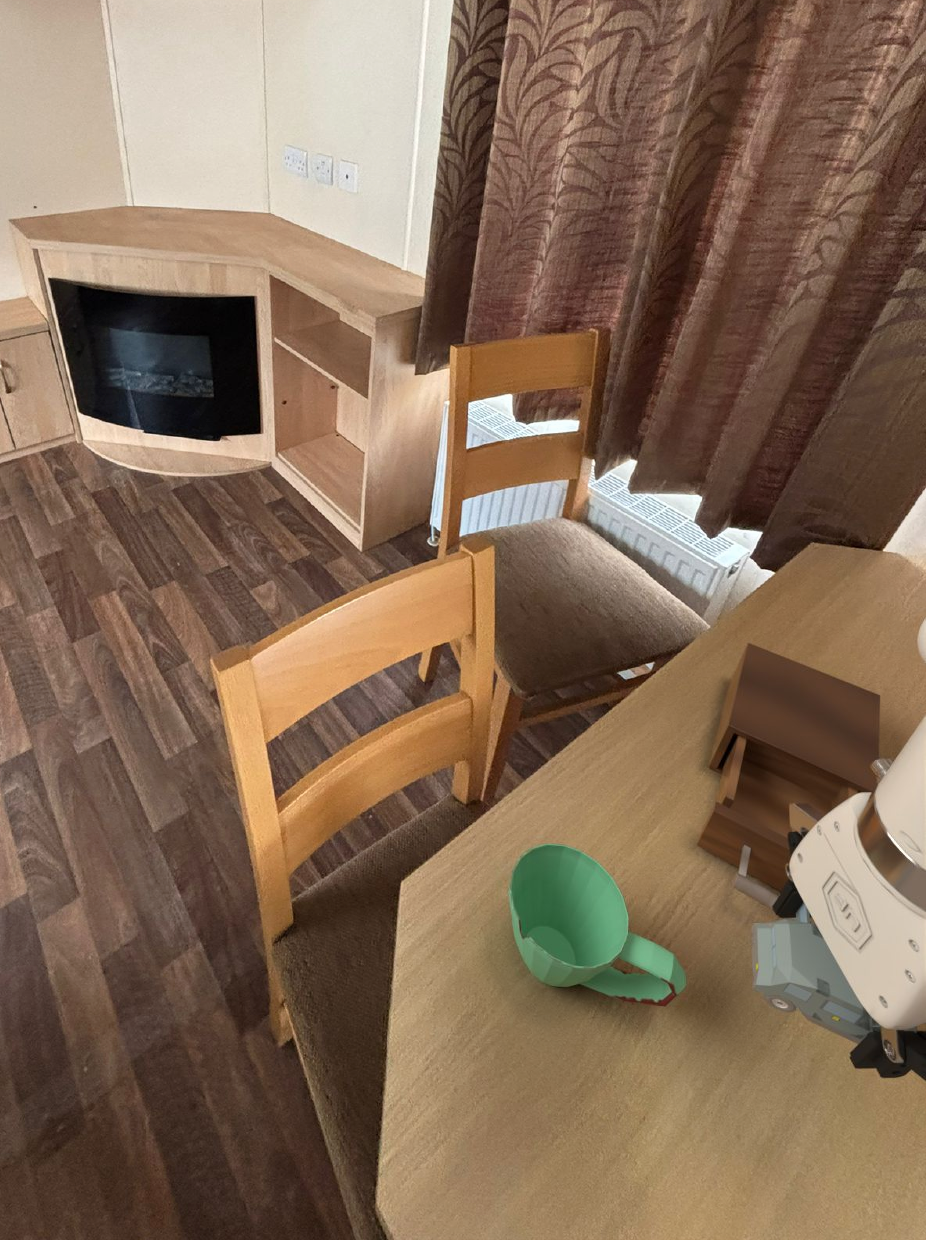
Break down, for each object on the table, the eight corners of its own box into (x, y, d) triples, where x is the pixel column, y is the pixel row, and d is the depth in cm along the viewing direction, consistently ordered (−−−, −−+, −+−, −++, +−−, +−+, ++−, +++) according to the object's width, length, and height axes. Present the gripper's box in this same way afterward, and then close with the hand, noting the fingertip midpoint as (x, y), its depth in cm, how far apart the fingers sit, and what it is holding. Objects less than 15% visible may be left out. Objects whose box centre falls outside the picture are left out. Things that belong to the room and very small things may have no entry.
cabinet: (846, 838, 72) (878, 794, 68) (707, 769, 79) (728, 725, 75) (852, 739, 83) (880, 695, 78) (728, 685, 89) (748, 642, 85)
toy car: (918, 1077, 45) (951, 1049, 43) (747, 996, 49) (768, 966, 47) (899, 973, 50) (928, 943, 47) (745, 907, 54) (764, 876, 51)
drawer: (834, 970, 62) (862, 937, 58) (686, 884, 68) (704, 850, 65) (844, 809, 74) (868, 775, 71) (719, 750, 80) (735, 715, 77)
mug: (480, 977, 62) (494, 923, 57) (513, 878, 69) (528, 822, 64) (652, 1087, 55) (685, 1038, 50) (669, 965, 63) (699, 911, 58)
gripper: (787, 722, 47) (717, 856, 56) (1004, 1043, 32) (860, 1155, 41) (896, 720, 47) (808, 854, 56) (1162, 1040, 32) (984, 1152, 41)
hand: (830, 981), depth 49 cm, fingers closed on toy car, 8 cm apart
